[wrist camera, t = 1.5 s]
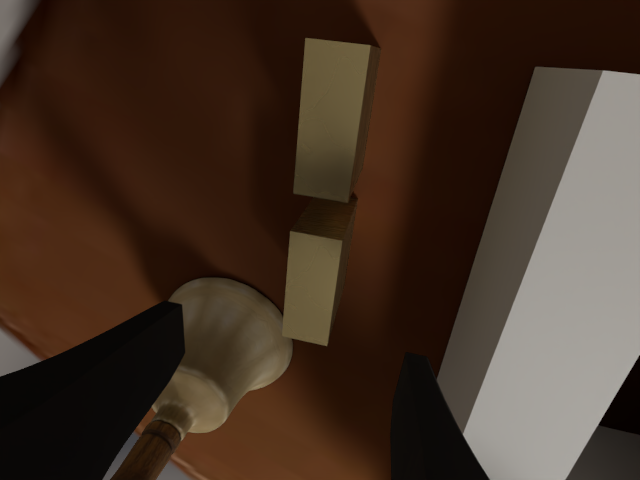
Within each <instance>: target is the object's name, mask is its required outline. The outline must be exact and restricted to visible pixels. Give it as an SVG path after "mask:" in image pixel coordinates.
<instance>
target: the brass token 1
mask: <svg viewBox="0 0 640 480" xmlns="http://www.w3.org/2000/svg"><path fill="white" fill-rule="evenodd" d="M380 54H381V49H379V48H377V47H374V46H371V45H364V44H355V43H346V42H337V41H329V40H320V39H311V38H305V50H304V62H303V75H302V88H301V101H300V113H299V126H298V139H297V151H296V164H295V177H294V189H293V193H294V194H300V195H306V196H312V197H317V198H323V199H329V200H335V201H341V202H347V203H348V201H349V199H350V197H351V194H352V192H353V190H354V187H355V185H356V183H357V180H358V178H359V176H360V173H361V171H362V169H363V163H364V157H365V150H366V144H367V137H368V131H369V124H370V118H371V112H372V105H373V99H374V92H375V86H376V79H377V73H378V67H379V60H380Z"/></svg>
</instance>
